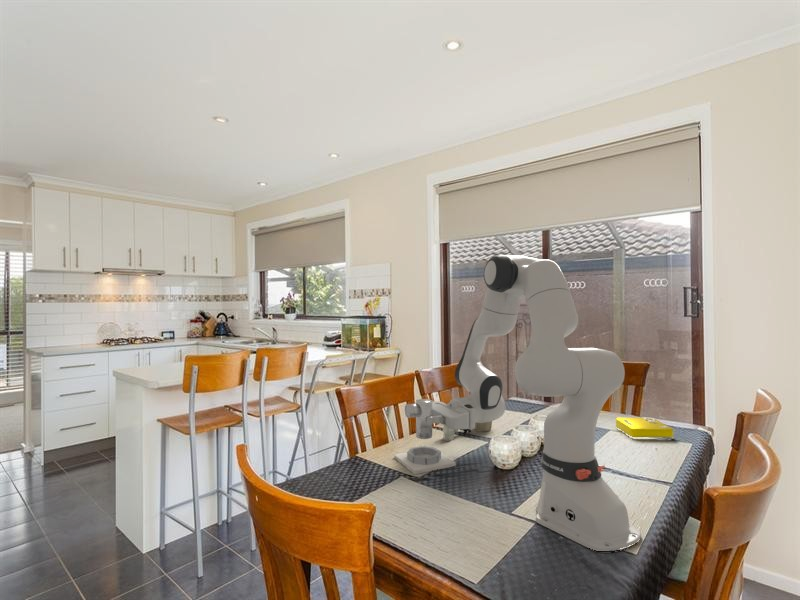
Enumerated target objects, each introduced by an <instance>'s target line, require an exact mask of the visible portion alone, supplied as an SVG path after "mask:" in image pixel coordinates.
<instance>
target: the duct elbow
mask: <svg viewBox="0 0 800 600" xmlns="http://www.w3.org/2000/svg"><path fill="white" fill-rule="evenodd" d="M432 402H433V400H432V399H428V398H419V399H416V401H415V402H414V403H407V404H405V405H404V414H405V416H406V418H407V419H410V418H415V438H417V439H421V440H428V439H432V438H433V423H427V422H426V417H427V416H432Z"/></svg>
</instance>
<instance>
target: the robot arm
mask: <svg viewBox="0 0 800 600" xmlns="http://www.w3.org/2000/svg"><path fill="white" fill-rule="evenodd" d="M484 266H485V267H484V270H483V280H484V283H485V285H486V287H487V288H486V291H485V294H484V298H483V301H482V307H481V311H480V313H479V316H478V317H477V318H476V319H475V320H474V322H473V324H472V325H471V328H470V331H469V333H468V336H467V340H466V343H465V346H464V350H463V352H462V355H461V357H460V360H459V361H458V363H457V365H456V366H455V367H456V368H455V370H454V379H455V381H456V383H457V384H458V385H459V386H461V387H462V388H464V389H466V391H468V392H469V396H464V397H455V398H451V399H450V401H449V402H448V403H445V402H443V401H437V400H435V401H433V400H432V416H427V417H426V422H427V423H432V424H439V425H440V424H441V425H442V426H446V427H448V428H450V429H453V430H458V431H462V430H461V429H470V430H471V431H472V430H474V429H475V423H485V422H490V421H492V422H493V421H496V420H498V419H500V418H501V417H503V415H504V414H505V411H506V402H505V399H504V398H503V395H502V394H503V381H502V379H501V378H500V377H499V376H498V375H497V374H496V373H494V372H493V371H491V370H489V368H487V367H485V366H484V365H483V363H482V361H481V357H482V354H483V351H484V349H485V346H486V343H487V340H488V339H489V338H490V337H502V336H503V337H504V336H505V335H508V334H509V333H511V332H512V331H513V330H514V328H515V326H516V324H517V320H518V316H519V311H520V306H521V301H522V300H521V299H522V298H523V297H525V301H526V305H527V310H528V315H529V319H530V324H531V336H530V337H531V338H530V342H529V344H528V346H527V348H525V350H524V351H523V352H522V353H520V355H519V356H518V358H517V360H516V361H515V363H514V364H515V365H514V371H513V372H514V379H515V382H516V383H517V385H518V387H519V388H520V389H521V391H522V392H523V393H525V394H527V395H534V396H539V397H545V398H546V397H563V400H562V402H561V404H559V406H558V407H557V408H556V409H554V410H552V411H551V412H549V413H548V414H547V415H546V417H545V420H544V423H543V450H542V451H541V466H542V469H543V470H542V472H543V473H542V478H541V484H540V492H539V499H538V502H537V505H536V509H535V510H536V513H537V514H536V516H535V522H536V523H538V524H539V525H541V526H543V527H545V528H548V529H549V530H551V531H553V532H555V533H558V534H559V535H562V537H563V536H564V537H565V538H567V539H569V540H571V541H573V542H575V543H577V544H579V545H582V546H583V547H585V548H588V549H589V548H590V549H589V550H592V549H593V550H592V551H594V550H596V551H609V550H616V549H620V548H623V547H627V546H629V545H632V544H634V543H636V542H637V541H638V540H639V539H640V537H641V538H642V532H641V531H640V530H639V529H638V528H637V527H635V526H633V525H632V524H630V521H629V519H630V518H629V514H628V510H627V507H626V505H625V503H624V502H623V501H622V499H621V498H620V497H619V496H618V495H617V494H616V493H615V492H614V491H613V489H612V488H611V487H610V486H609V484H608V482H606V481H605V480H604V479H603V477H602V472H605V471H606V469H604V468H606V466H605V465H600V466H599V463H598V460H597V456H595V450H596V449H595V447H596V446H595V445H596V443H595V442H596V429H597V428H596V427H597V422H598V419H599V416H600V413H601V411H602V410H603V407H604V405H605V404H606V403H607V401H608V399H609V398H610V397H611V396H612V394H614V393H615V392H616V391H617V390H619V389H620V388H621V386H622V385H623V383H624V381H625V376H626V375H625V374H626V373H625V371H626V370H625V366H624V364H623V360H622V359H621V358H620V357H619V355H618V354H617V353H615V352H614V351H610V350H608V349H602V348H598V347H597V348H595V347H571V348H570V347H567V345H566V342H565V338H566V337H568V336H569V335H571V334H572V333H573V332H574V331H575V330H576V329H577V327H578V326H579V325H578V324H579V319H580V318H579V314H578V311H577V308H576V305H575V302H574V298H573V296H572V293H571V292H572V291H571V289H570V286H569V284H568V281H567V279H566V277H565V275H564V273H563V271H562V270H561V268H560V266H559V265H558V264H557V263H556V262H555V261H554V260H550V259H547V258H546V259H544V258H543V259H542V258H541V259H539V258H535V257H531V256H526V255H506V254H497V255H493V256H491V257H490V258H489V259H488V260H487V262H486V264H485V265H484ZM475 430H476V429H475ZM596 551H595V552H596Z"/></svg>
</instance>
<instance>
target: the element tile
mask: <svg viewBox="0 0 800 600" xmlns="http://www.w3.org/2000/svg"><path fill="white" fill-rule="evenodd" d="M616 427H617V428H619V429H621V430H622V431H624V432H625V433H627V434H628V435H630V436H632V437H673V438H674V428H673V427H671V426H669V425H667V424H666V423H663V422H661V421H660V420H657V419H656V418H653V417H616V418H615V428H616Z"/></svg>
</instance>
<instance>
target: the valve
mask: <svg viewBox="0 0 800 600" xmlns="http://www.w3.org/2000/svg"><path fill="white" fill-rule="evenodd" d="M458 431H459V430H453V429H450V428H448V427H446V426H444V425H442V433H443V434H442V435H443V437H442V438H443V439H444V440H445V441H453V440H455V439H454V438H455V436H454V433H457V432H458ZM460 431H463V434H467V433H468V434H469V433H470V434H471V433H472V429H471V430H470V429H461V430H460Z"/></svg>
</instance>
